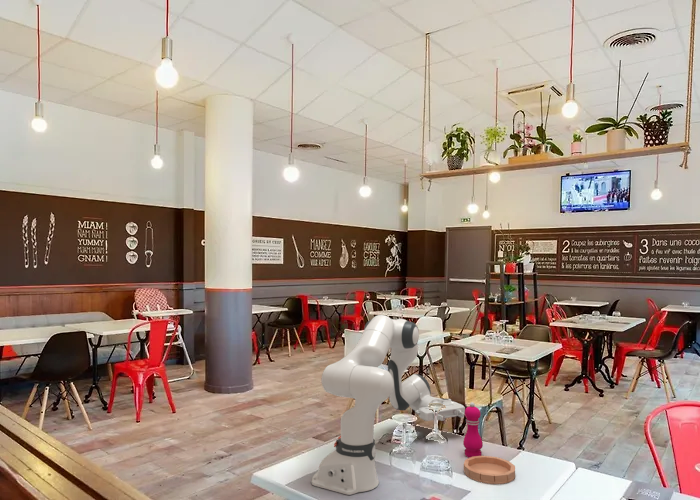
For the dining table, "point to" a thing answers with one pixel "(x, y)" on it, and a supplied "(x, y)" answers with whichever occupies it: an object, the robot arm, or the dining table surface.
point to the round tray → (489, 469)
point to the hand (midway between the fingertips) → (453, 417)
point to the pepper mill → (472, 432)
